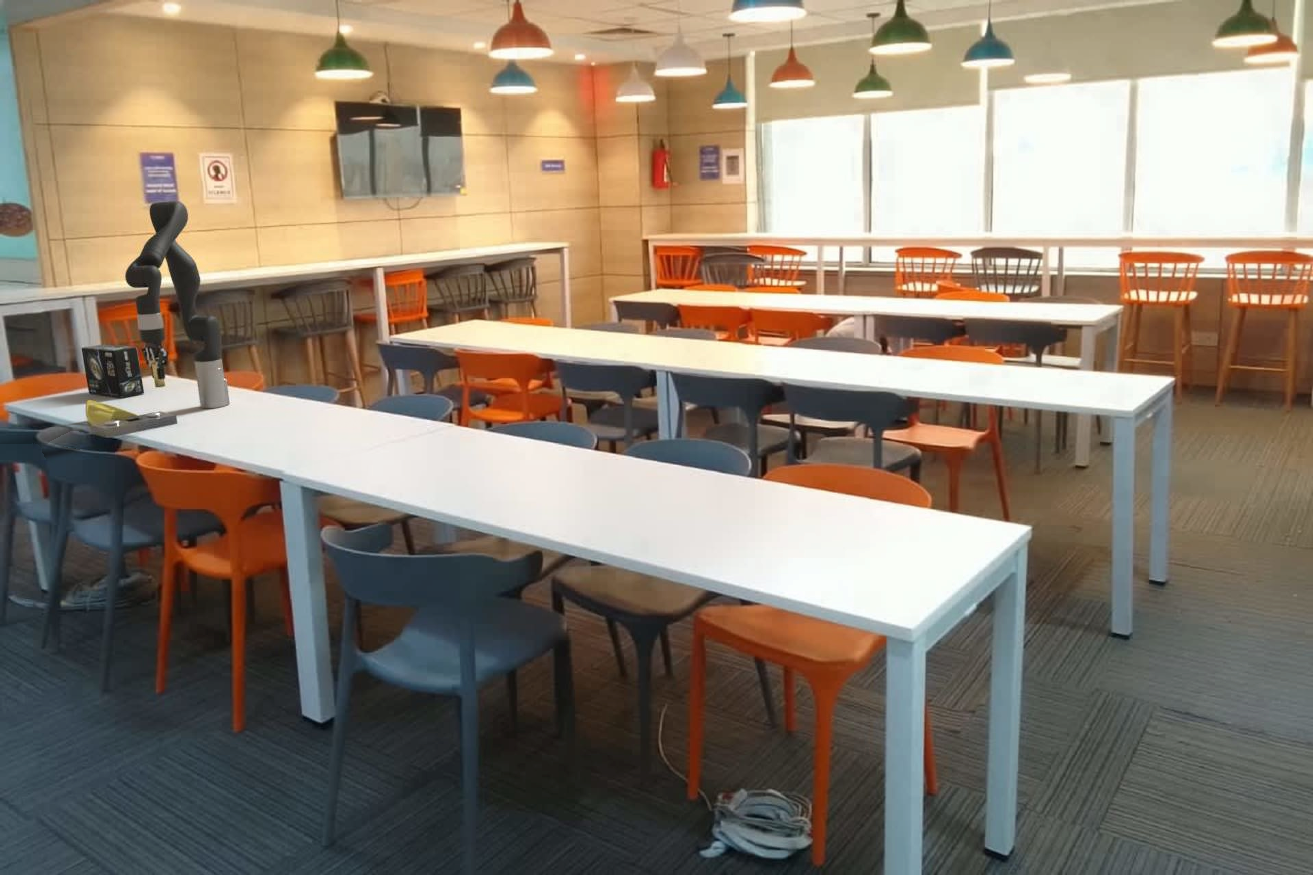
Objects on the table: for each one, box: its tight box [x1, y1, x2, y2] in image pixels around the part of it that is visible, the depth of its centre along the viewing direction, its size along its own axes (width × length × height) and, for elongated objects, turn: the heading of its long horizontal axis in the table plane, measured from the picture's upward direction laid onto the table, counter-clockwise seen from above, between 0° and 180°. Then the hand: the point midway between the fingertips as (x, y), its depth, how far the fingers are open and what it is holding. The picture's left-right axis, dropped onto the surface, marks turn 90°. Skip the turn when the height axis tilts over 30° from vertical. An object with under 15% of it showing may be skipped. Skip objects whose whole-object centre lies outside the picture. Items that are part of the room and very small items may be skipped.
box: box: [81, 344, 145, 399], centre depth 414 cm, size 23×10×19 cm, turn 57°
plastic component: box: [85, 399, 138, 425], centre depth 365 cm, size 20×7×10 cm
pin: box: [150, 360, 166, 388], centre depth 349 cm, size 4×4×9 cm
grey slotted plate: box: [89, 410, 178, 439], centre depth 354 cm, size 24×11×4 cm, turn 142°
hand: (158, 378), depth 350 cm, fingers closed on pin, 3 cm apart
